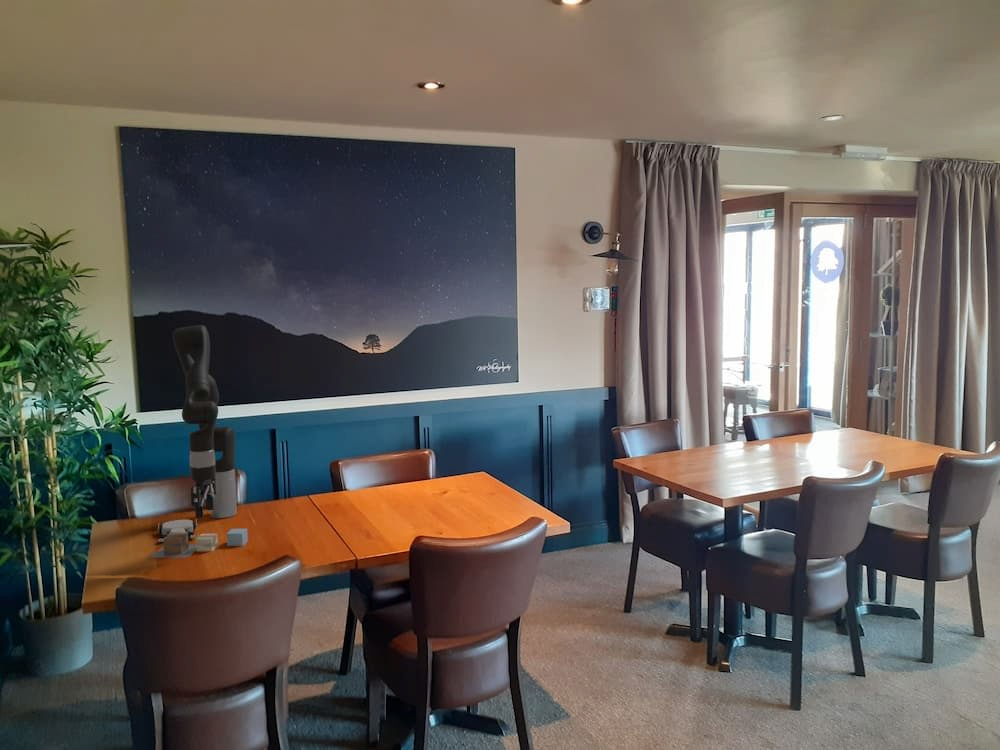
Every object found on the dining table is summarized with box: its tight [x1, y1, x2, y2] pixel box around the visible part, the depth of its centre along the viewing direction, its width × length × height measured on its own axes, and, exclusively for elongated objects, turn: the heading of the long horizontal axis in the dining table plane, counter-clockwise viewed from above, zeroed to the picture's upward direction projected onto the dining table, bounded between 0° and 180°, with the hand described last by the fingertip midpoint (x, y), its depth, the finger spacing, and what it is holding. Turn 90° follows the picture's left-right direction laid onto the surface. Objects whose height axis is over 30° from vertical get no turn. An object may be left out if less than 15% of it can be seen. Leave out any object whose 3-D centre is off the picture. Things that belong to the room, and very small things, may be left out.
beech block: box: [195, 533, 219, 552], centre depth 239 cm, size 5×5×5 cm
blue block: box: [226, 528, 249, 549], centre depth 244 cm, size 5×5×5 cm
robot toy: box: [157, 518, 198, 543], centre depth 252 cm, size 12×4×15 cm
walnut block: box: [162, 533, 189, 554], centre depth 237 cm, size 6×6×5 cm
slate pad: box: [148, 543, 197, 559], centre depth 238 cm, size 12×12×1 cm
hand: (204, 513), depth 238 cm, fingers open, 8 cm apart
